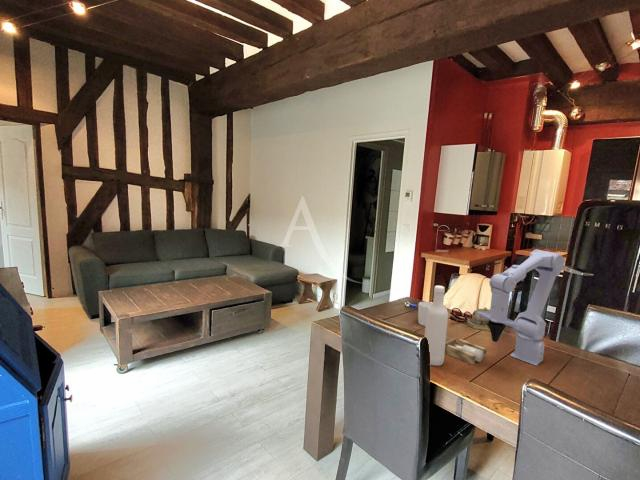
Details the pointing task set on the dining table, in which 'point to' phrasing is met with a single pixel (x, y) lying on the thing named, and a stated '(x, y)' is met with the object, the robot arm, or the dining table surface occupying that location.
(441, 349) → the bottle
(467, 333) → the dining table surface
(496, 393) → the dining table surface
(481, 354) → the bottle
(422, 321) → the white cup
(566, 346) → the dining table surface
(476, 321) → the ceramic model
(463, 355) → the u rest
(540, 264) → the robot arm
